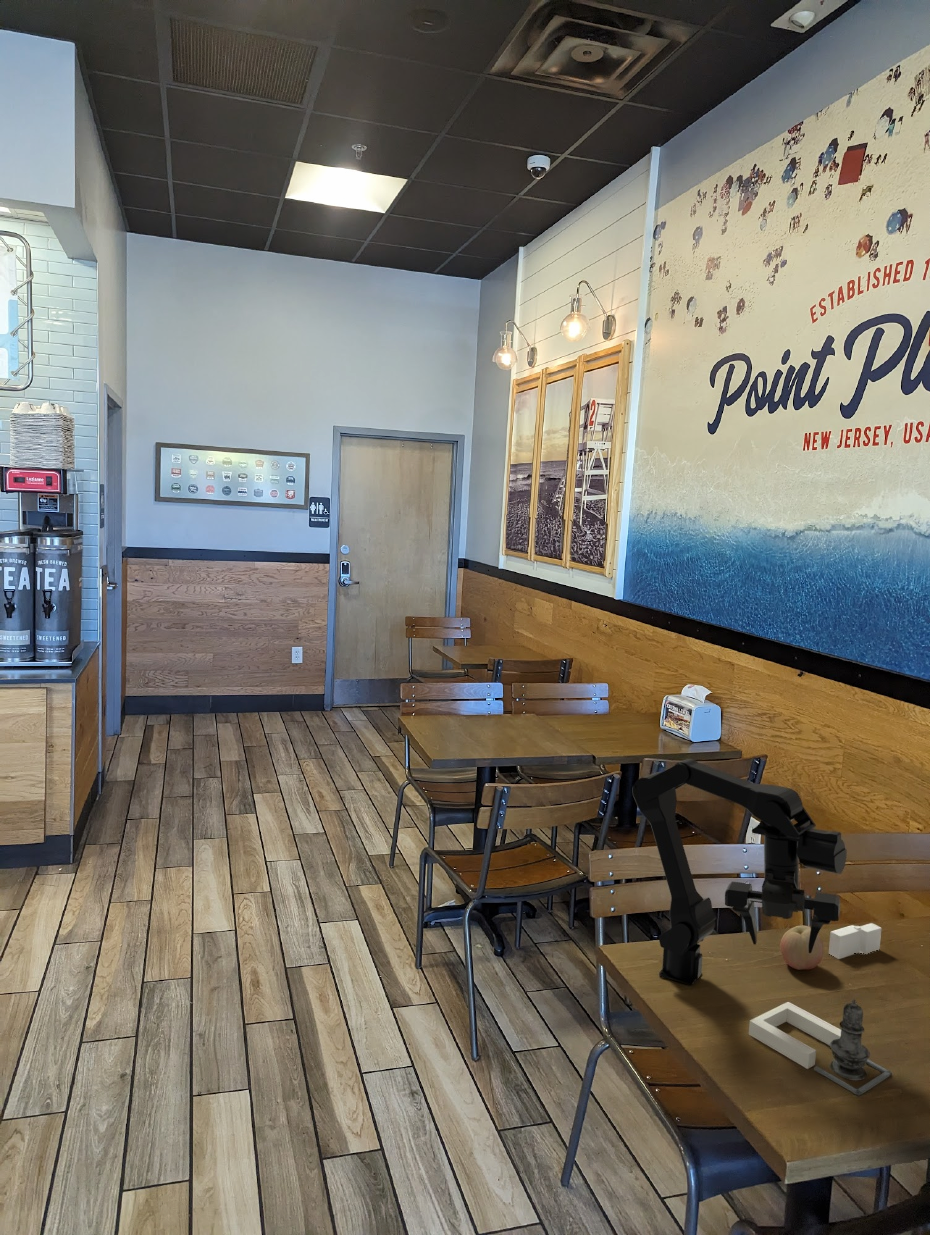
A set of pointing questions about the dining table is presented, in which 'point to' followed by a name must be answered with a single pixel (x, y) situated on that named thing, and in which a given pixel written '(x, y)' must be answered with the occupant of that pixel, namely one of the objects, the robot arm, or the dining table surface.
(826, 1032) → the u-shaped bracket
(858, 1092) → the frame
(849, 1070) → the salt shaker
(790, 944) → the fruit
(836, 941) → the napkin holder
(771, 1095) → the dining table surface
